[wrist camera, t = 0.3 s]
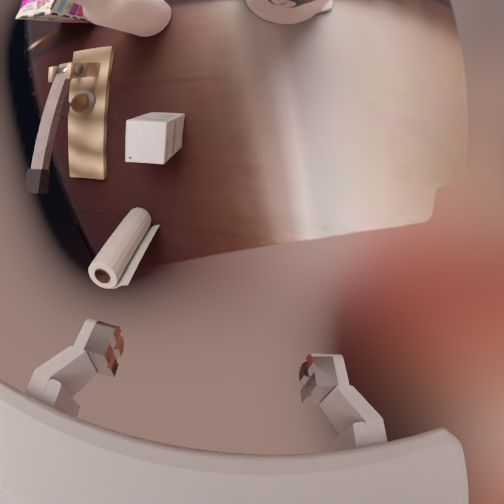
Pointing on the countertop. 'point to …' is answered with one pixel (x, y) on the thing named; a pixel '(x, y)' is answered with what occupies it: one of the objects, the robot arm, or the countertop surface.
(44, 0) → the candy bar box
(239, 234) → the countertop surface
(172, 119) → the supplement box
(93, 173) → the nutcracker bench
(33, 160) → the lever
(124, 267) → the paper towel roll
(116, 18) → the alcohol
